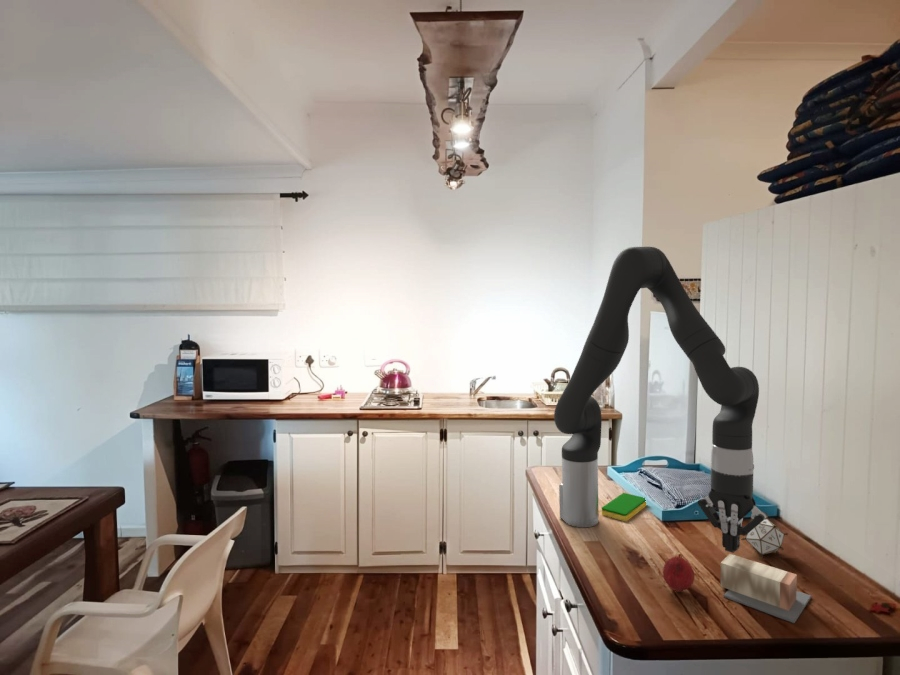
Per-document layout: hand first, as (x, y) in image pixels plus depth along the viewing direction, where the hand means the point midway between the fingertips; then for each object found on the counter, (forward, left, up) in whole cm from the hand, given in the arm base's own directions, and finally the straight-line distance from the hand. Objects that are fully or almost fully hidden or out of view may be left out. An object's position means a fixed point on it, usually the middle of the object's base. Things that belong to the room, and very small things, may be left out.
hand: (731, 550), depth 108 cm
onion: (-7, -9, -8) cm, 14 cm away
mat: (+6, +1, -8) cm, 10 cm away
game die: (0, +19, -8) cm, 21 cm away
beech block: (-1, 0, -4) cm, 5 cm away
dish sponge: (-35, +20, -8) cm, 41 cm away
